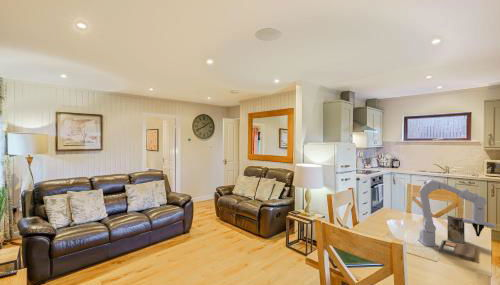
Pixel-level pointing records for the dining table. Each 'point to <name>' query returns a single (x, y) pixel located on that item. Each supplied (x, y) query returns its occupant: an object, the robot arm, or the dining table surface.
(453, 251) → the cream tile
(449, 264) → the dining table surface
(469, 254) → the walnut ledge
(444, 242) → the tray
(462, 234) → the coffee box
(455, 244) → the terracotta tile
